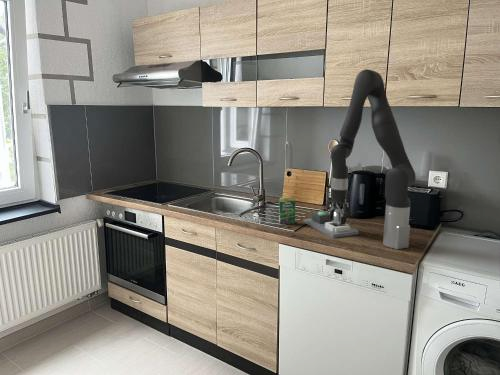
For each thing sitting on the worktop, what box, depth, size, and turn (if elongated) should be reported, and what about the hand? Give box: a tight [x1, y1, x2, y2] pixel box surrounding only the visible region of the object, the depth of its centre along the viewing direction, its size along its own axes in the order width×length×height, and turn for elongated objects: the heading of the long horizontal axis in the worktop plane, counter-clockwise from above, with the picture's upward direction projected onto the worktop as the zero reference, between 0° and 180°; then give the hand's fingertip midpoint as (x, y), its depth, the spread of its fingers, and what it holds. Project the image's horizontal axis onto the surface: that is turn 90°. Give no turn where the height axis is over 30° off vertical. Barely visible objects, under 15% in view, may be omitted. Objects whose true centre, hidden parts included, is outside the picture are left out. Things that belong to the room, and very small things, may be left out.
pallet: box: [303, 210, 360, 239], centre depth 176 cm, size 26×14×6 cm, turn 22°
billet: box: [333, 211, 342, 227], centre depth 170 cm, size 4×4×8 cm
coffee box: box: [278, 197, 296, 225], centre depth 182 cm, size 8×3×13 cm, turn 91°
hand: (337, 221), depth 170 cm, fingers open, 8 cm apart
